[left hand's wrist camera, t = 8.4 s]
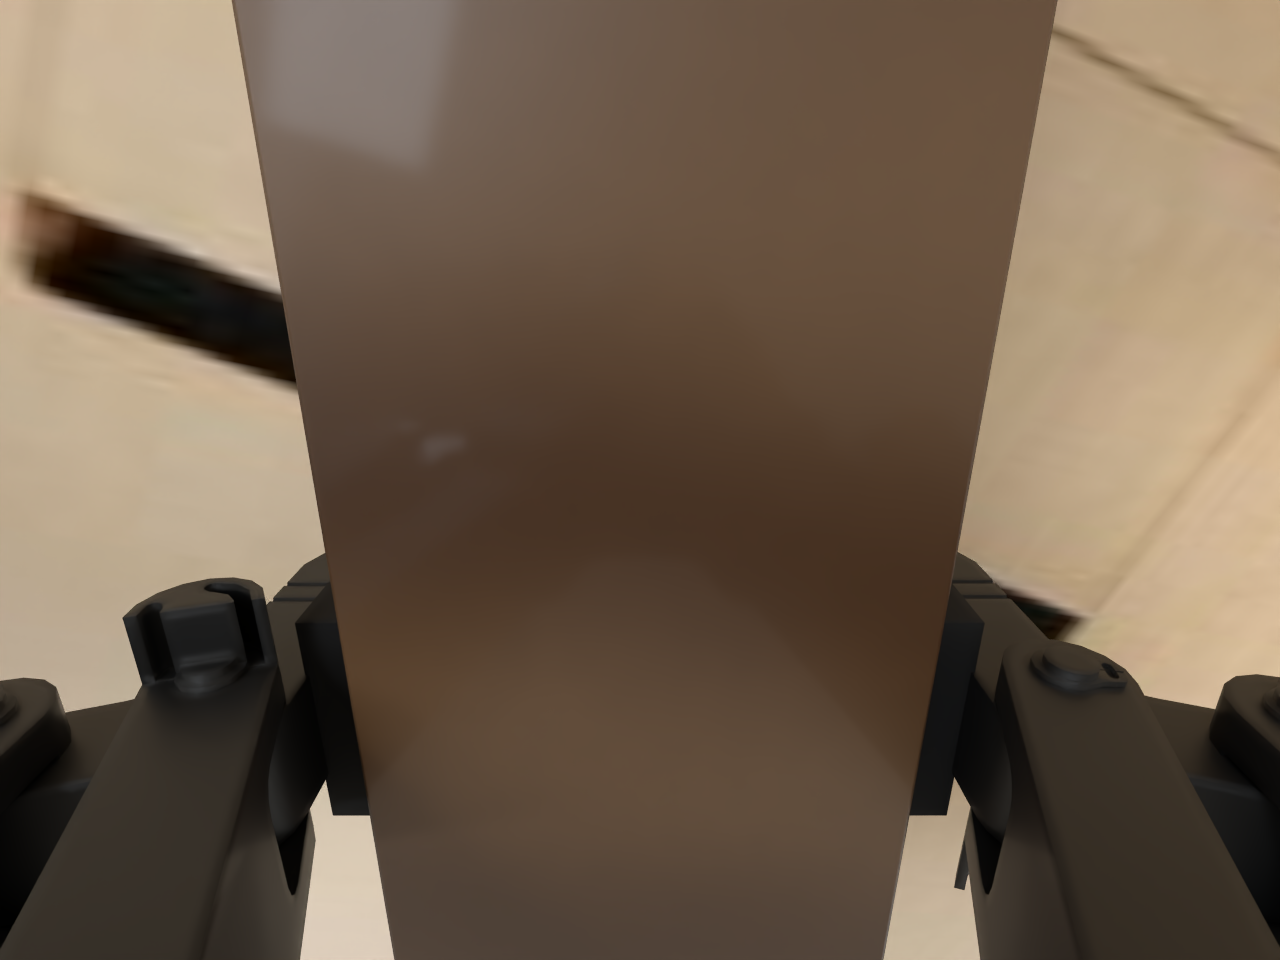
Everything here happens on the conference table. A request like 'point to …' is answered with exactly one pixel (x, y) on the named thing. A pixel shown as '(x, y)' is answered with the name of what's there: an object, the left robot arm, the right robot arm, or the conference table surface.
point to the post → (641, 438)
